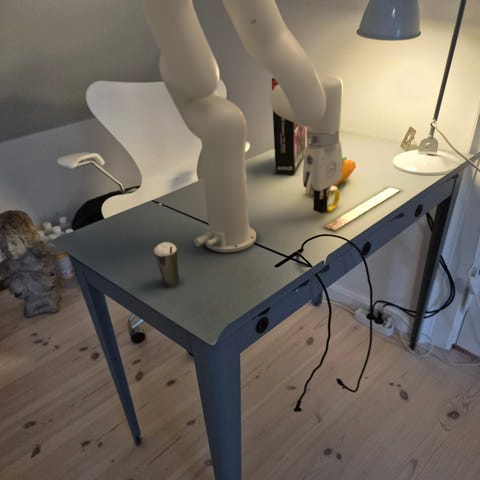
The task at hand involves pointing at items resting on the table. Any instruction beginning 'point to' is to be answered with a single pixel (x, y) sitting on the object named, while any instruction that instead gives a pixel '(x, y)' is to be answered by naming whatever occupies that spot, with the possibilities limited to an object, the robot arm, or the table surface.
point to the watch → (336, 198)
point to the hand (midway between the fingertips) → (319, 210)
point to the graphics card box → (287, 143)
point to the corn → (345, 171)
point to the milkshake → (167, 263)
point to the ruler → (361, 209)
